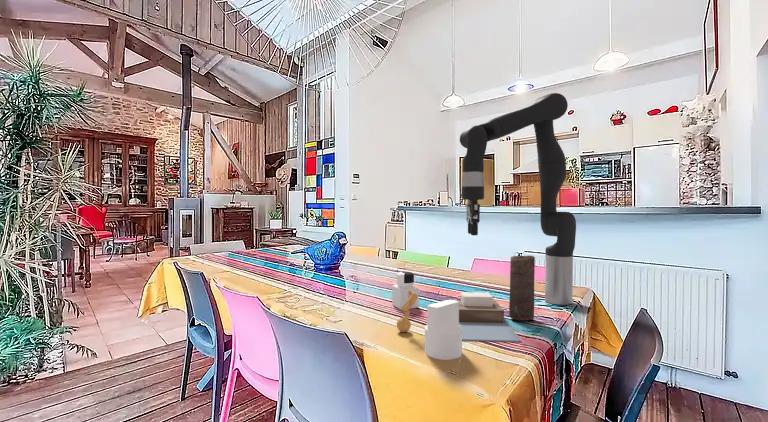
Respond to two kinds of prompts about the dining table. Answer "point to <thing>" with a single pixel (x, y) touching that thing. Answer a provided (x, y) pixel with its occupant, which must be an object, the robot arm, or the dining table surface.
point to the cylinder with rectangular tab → (443, 331)
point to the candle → (522, 287)
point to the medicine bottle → (404, 290)
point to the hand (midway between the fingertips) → (472, 234)
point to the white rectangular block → (476, 299)
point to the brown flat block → (481, 313)
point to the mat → (488, 332)
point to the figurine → (404, 323)
